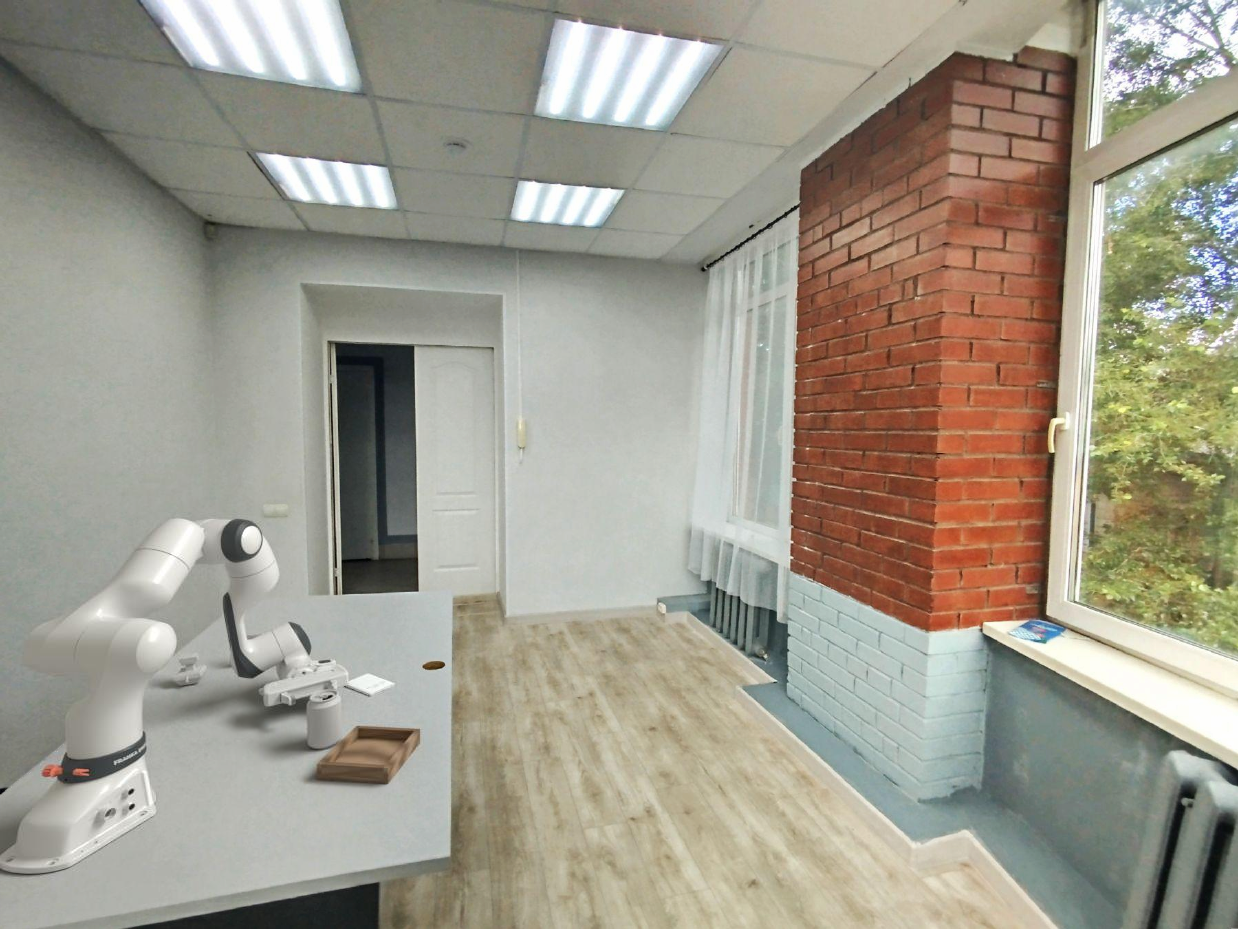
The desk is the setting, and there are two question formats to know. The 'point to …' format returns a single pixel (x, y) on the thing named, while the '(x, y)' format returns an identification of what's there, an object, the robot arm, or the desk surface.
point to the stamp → (189, 670)
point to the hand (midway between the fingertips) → (313, 696)
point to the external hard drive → (369, 684)
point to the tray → (369, 754)
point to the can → (324, 719)
